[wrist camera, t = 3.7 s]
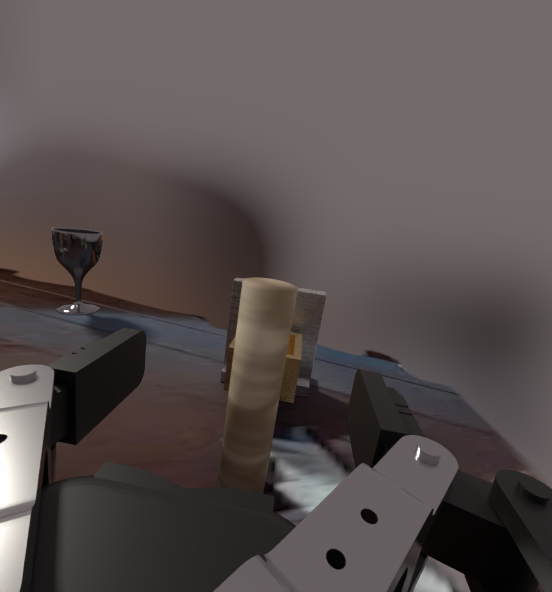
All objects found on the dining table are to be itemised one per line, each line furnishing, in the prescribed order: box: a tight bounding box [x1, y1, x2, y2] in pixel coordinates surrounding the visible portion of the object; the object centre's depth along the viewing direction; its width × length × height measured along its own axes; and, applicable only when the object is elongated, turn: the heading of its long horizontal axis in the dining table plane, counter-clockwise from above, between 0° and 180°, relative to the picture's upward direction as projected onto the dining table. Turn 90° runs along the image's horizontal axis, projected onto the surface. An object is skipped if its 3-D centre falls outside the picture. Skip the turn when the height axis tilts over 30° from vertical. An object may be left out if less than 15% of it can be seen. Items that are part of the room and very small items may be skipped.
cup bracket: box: [220, 278, 326, 403], centre depth 40 cm, size 14×12×14 cm
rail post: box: [217, 278, 298, 494], centre depth 25 cm, size 4×4×18 cm
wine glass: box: [51, 227, 103, 315], centre depth 59 cm, size 8×8×15 cm
